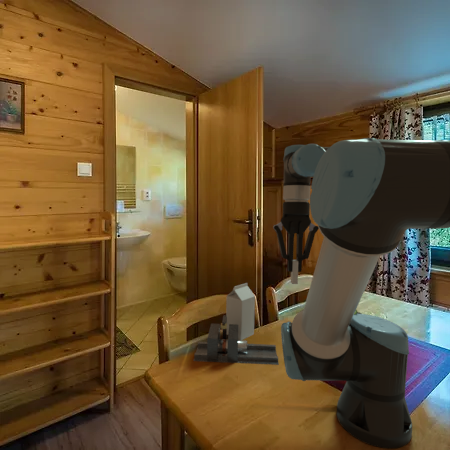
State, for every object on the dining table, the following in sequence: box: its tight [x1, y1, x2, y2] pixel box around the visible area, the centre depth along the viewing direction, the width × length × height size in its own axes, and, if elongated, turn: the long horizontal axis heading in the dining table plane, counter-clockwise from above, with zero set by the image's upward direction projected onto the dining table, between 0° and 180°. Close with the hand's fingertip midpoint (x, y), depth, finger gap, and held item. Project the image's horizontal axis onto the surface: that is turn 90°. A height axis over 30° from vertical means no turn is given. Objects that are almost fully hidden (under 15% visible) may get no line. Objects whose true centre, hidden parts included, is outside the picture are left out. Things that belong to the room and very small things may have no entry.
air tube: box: [218, 338, 248, 353], centre depth 99 cm, size 12×4×4 cm, turn 87°
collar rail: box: [193, 314, 280, 366], centre depth 98 cm, size 12×25×11 cm, turn 87°
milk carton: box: [225, 282, 256, 341], centre depth 111 cm, size 7×7×19 cm
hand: (294, 282), depth 92 cm, fingers closed
